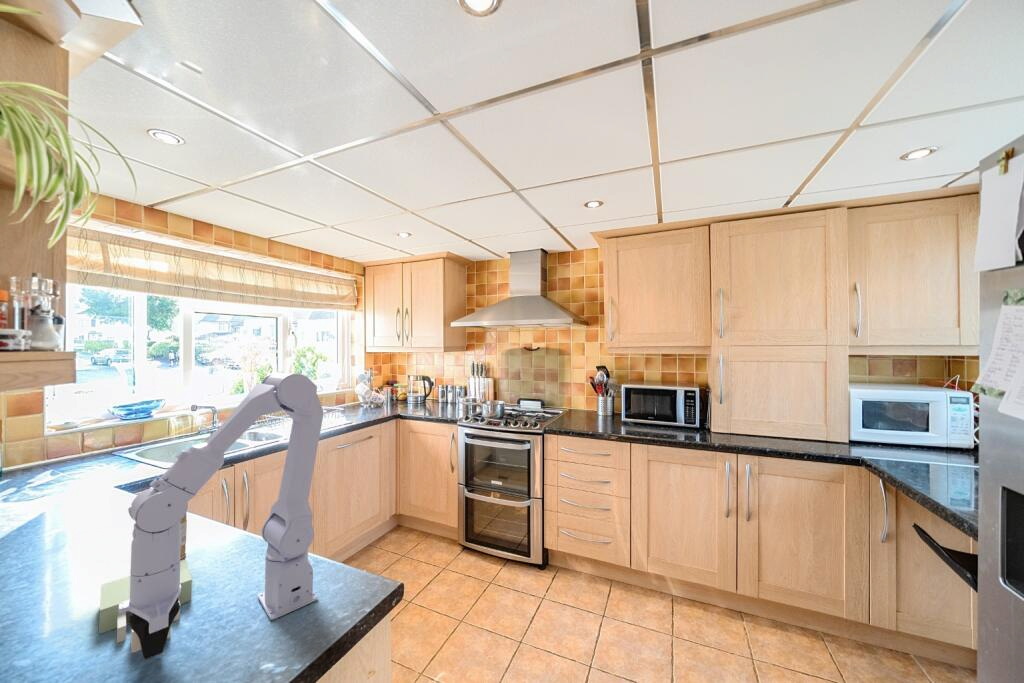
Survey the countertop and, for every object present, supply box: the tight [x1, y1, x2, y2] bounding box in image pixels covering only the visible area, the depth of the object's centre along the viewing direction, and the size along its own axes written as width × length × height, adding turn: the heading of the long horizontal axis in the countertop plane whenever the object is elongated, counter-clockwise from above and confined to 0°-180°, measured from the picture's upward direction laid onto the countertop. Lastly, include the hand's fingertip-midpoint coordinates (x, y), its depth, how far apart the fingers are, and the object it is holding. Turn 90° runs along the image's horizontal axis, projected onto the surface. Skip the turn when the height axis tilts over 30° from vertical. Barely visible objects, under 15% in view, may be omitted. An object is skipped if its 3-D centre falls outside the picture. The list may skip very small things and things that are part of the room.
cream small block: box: [130, 625, 172, 654], centre depth 63 cm, size 4×5×4 cm
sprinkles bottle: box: [180, 513, 188, 561], centre depth 86 cm, size 5×5×13 cm
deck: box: [98, 559, 193, 644], centre depth 70 cm, size 15×12×4 cm
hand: (153, 653), depth 59 cm, fingers closed
